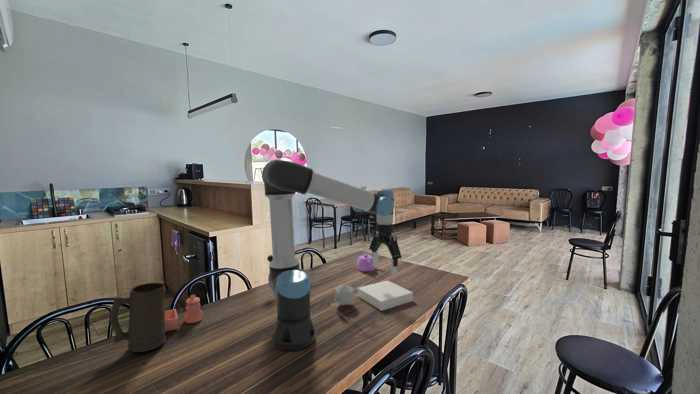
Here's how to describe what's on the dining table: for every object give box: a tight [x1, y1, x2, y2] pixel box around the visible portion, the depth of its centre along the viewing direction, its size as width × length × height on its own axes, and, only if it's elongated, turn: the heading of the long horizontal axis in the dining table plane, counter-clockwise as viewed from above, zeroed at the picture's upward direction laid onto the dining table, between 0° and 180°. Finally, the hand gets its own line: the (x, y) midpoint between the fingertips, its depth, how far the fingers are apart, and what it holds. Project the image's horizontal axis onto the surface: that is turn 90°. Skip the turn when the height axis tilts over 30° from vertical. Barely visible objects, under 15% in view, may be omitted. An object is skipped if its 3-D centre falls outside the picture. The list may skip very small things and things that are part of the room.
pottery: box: [165, 294, 204, 333], centre depth 114 cm, size 18×10×10 cm, turn 125°
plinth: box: [357, 280, 414, 311], centre depth 137 cm, size 18×18×4 cm
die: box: [334, 283, 355, 306], centre depth 130 cm, size 8×9×10 cm
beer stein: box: [108, 282, 167, 353], centre depth 99 cm, size 15×11×20 cm
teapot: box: [356, 253, 381, 273], centre depth 177 cm, size 15×14×10 cm
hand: (384, 269), depth 136 cm, fingers open, 13 cm apart
